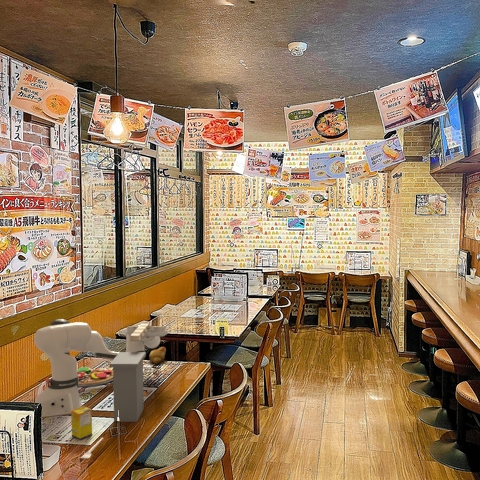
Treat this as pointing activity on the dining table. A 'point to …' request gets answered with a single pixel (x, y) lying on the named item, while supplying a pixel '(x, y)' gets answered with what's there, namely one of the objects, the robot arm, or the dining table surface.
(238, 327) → the dining table surface
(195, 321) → the dining table surface
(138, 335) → the birch bar
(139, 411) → the charcoal stand
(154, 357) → the bread roll
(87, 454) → the fork
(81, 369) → the toy pizza
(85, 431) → the supplement box
